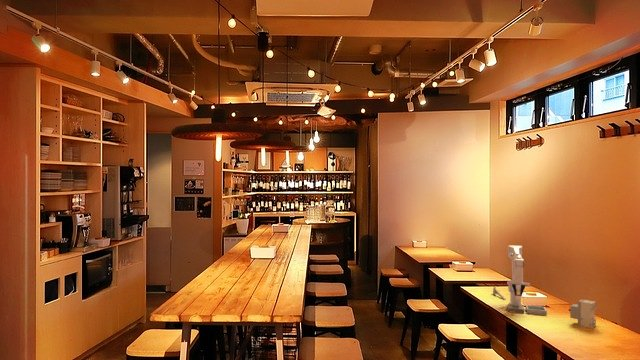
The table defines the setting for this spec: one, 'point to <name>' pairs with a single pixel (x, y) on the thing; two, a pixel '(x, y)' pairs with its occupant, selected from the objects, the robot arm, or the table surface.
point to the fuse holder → (515, 308)
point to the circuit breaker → (584, 313)
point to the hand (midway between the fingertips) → (518, 295)
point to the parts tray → (536, 310)
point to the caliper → (497, 293)
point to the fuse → (518, 294)
